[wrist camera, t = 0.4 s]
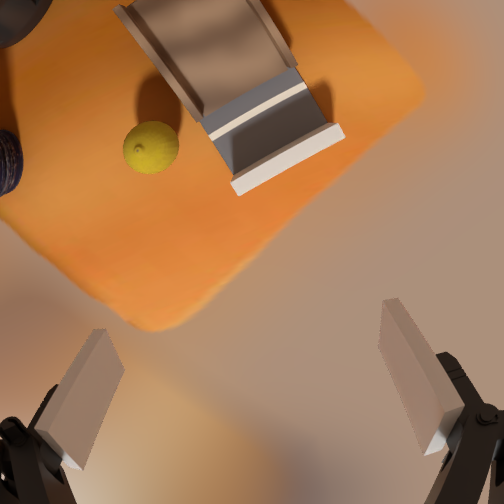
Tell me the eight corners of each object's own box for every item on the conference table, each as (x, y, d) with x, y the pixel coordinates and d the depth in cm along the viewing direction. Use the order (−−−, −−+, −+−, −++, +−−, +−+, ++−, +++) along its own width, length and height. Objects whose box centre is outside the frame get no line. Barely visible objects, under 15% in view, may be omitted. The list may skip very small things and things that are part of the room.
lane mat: (194, 112, 33) (193, 112, 32) (288, 58, 30) (288, 58, 30) (241, 186, 36) (241, 187, 36) (334, 135, 33) (334, 135, 33)
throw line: (208, 135, 34) (208, 135, 33) (303, 82, 31) (303, 81, 31) (212, 141, 34) (212, 141, 34) (306, 88, 31) (307, 87, 31)
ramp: (137, 24, 28) (108, 3, 20) (223, -27, 26) (215, -60, 18) (202, 122, 33) (186, 122, 25) (294, 70, 31) (305, 55, 23)
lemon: (168, 110, 32) (144, 108, 25) (195, 149, 34) (178, 157, 27) (131, 139, 34) (100, 146, 26) (157, 177, 35) (132, 192, 28)
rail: (233, 174, 35) (230, 182, 31) (327, 122, 33) (337, 123, 28) (241, 186, 36) (238, 196, 31) (334, 135, 33) (345, 137, 29)
